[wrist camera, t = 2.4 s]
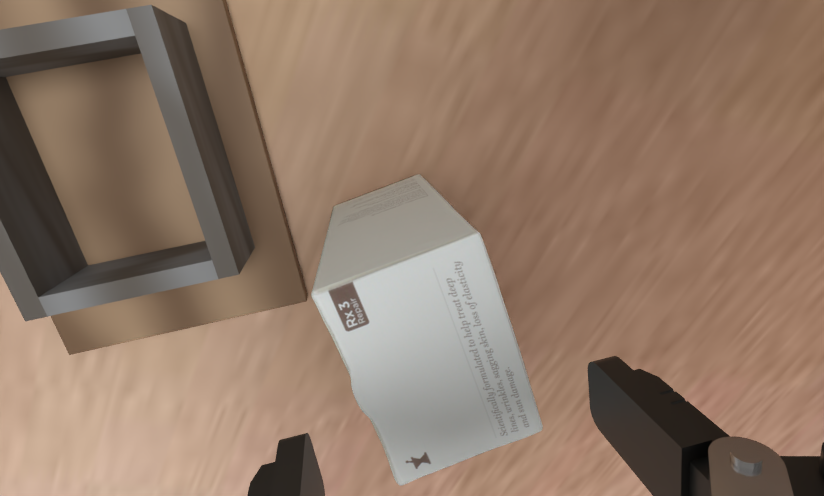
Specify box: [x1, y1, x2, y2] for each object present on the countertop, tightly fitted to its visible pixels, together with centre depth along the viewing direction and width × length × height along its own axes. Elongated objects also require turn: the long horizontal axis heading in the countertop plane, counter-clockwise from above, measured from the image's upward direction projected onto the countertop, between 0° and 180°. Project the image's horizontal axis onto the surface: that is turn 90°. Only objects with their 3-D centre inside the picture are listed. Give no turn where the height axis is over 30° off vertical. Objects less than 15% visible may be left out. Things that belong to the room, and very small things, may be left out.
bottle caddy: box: [0, 0, 307, 355], centre depth 23 cm, size 14×20×6 cm
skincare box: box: [311, 174, 543, 485], centre depth 22 cm, size 8×6×15 cm
